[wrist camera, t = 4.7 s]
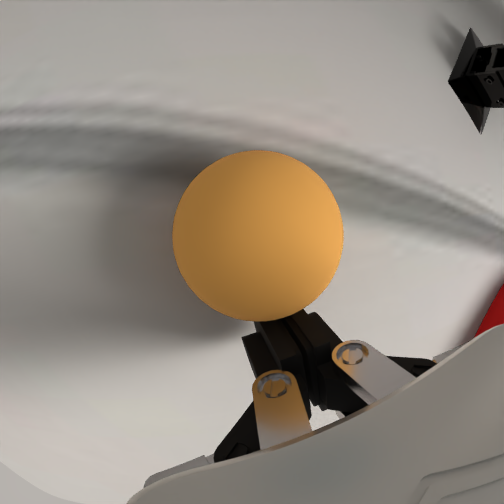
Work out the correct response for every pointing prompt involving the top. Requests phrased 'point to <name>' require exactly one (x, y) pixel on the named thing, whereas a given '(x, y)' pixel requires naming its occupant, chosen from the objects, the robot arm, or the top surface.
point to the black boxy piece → (479, 78)
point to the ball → (257, 235)
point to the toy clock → (493, 313)
